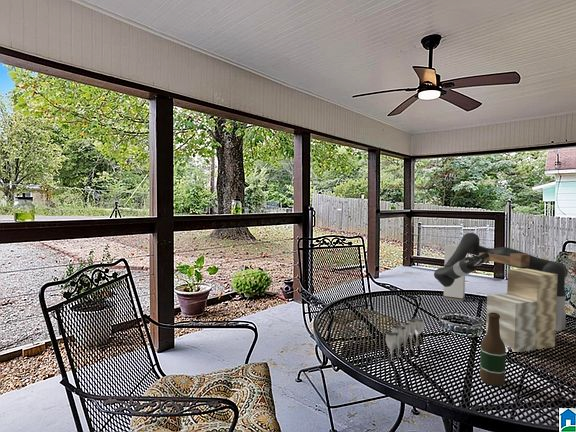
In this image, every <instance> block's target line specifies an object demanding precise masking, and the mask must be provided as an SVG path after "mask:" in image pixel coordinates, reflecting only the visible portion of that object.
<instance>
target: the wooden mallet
mask: <svg viewBox="0 0 576 432" xmlns="http://www.w3.org/2000/svg"><path fill="white" fill-rule="evenodd" d="M482 254H484V253H479V255H482ZM488 255H489V257H487V258H485V259H482V260H488V261H489V262H494V263H498V264H499V263H500V264H503V263H504V265H506V264H509V265H512V266H518V267H529V261H530V255H531V254H529V255H528V253H526V254H521V253H511V254H510V257H509V256H503V255H497V254H490V253H488ZM509 265H508V266H509ZM512 266H511V267H512Z"/></svg>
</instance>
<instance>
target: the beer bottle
mask: <svg viewBox="0 0 576 432" xmlns="http://www.w3.org/2000/svg"><path fill="white" fill-rule="evenodd" d="M488 316H489V320H488V330H487V334H486V333H485V335H484V337H483V338H482V340H481V343H480V351H479V352H480V354H479V355H480V360H479V378H480V380H481V381H482V382H483V383H485V384H486V385H489V386H493V385H494V386H495V387H501V386H503V385H505V381H506V363H507V362H506V361H507V359H506V358H507V350H506V348H505V345H504V343H503V341H502V339H501V337H500V326H499V318H500V315H499V314H498V313H493V312H491V313H489V314H488Z"/></svg>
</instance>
